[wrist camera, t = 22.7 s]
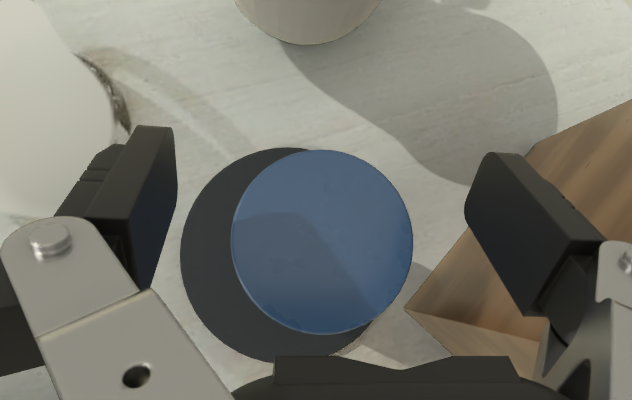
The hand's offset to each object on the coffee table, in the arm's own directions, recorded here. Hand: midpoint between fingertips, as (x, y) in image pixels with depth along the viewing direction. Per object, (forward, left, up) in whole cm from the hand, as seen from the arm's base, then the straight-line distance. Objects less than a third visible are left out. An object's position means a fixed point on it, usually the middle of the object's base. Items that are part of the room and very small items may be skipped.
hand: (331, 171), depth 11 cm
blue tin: (+1, -1, -13) cm, 13 cm away
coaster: (+1, -1, -14) cm, 14 cm away
